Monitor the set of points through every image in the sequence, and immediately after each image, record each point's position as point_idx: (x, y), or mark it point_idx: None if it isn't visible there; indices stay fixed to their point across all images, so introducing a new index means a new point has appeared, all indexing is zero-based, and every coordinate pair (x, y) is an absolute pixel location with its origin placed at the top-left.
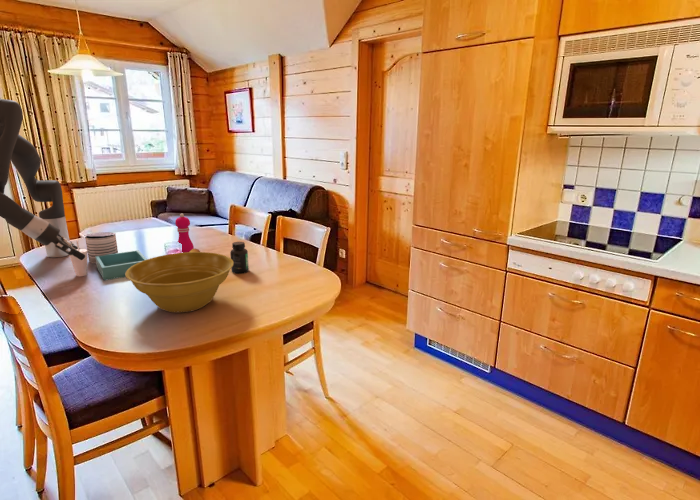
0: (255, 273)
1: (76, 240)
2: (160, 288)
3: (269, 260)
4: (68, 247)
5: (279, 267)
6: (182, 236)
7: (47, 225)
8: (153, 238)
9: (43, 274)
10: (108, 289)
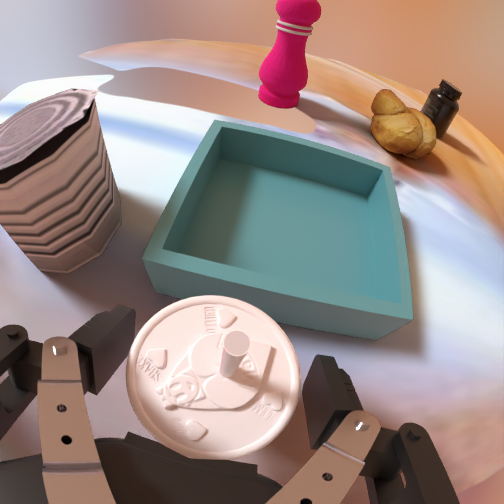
0: None
1: (244, 355)
2: None
3: (388, 87)
4: (439, 479)
5: None
6: (302, 47)
7: None
8: (53, 94)
9: None
10: (461, 351)
